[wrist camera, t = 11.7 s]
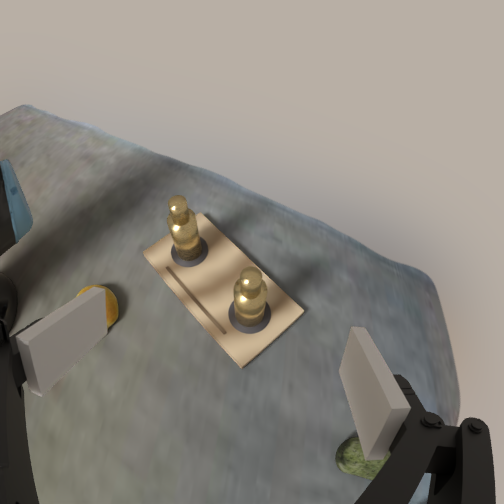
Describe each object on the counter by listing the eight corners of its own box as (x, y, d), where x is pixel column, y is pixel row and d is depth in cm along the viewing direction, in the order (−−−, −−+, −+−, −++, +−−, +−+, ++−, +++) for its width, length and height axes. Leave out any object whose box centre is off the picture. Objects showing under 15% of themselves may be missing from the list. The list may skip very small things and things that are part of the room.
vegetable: (324, 465, 33) (334, 469, 29) (341, 432, 36) (353, 432, 31) (405, 489, 30) (422, 493, 26) (419, 458, 32) (437, 459, 28)
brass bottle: (229, 312, 43) (224, 274, 33) (250, 295, 45) (252, 253, 35) (248, 332, 42) (249, 300, 32) (269, 314, 43) (277, 277, 33)
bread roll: (129, 309, 44) (121, 299, 41) (92, 350, 41) (80, 343, 37) (98, 279, 47) (89, 267, 43) (63, 316, 43) (52, 307, 40)
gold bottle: (172, 249, 48) (156, 201, 39) (192, 235, 50) (181, 186, 40) (186, 265, 47) (172, 219, 37) (207, 251, 48) (198, 202, 39)
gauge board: (144, 256, 49) (142, 251, 48) (201, 216, 54) (200, 211, 53) (241, 368, 40) (241, 367, 39) (302, 313, 45) (304, 310, 44)
